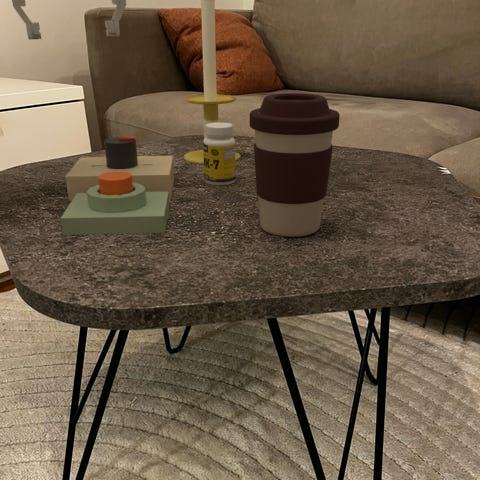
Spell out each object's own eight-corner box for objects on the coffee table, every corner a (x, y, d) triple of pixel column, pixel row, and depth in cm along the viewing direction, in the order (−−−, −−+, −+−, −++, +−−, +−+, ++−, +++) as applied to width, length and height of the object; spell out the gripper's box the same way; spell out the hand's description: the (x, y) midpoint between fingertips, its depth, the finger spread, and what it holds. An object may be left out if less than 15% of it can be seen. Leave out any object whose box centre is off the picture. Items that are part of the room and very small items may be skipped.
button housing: (63, 235, 69) (57, 202, 68) (78, 209, 78) (74, 179, 76) (165, 233, 70) (163, 200, 68) (169, 207, 79) (167, 177, 77)
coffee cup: (333, 216, 75) (342, 91, 68) (328, 245, 66) (339, 105, 59) (256, 212, 77) (257, 89, 69) (242, 239, 68) (242, 102, 61)
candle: (239, 164, 99) (238, -21, 86) (180, 164, 99) (170, -21, 87) (241, 150, 108) (240, -20, 95) (187, 150, 108) (179, -19, 95)
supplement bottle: (197, 182, 90) (195, 124, 86) (220, 176, 93) (219, 120, 89) (219, 188, 87) (218, 129, 83) (242, 182, 90) (241, 124, 86)
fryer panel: (68, 201, 81) (65, 175, 79) (83, 180, 91) (80, 156, 89) (170, 199, 82) (169, 173, 80) (174, 178, 92) (173, 154, 90)
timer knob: (104, 169, 83) (101, 141, 81) (109, 161, 87) (106, 135, 85) (136, 168, 83) (133, 141, 81) (139, 161, 87) (137, 134, 85)
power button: (97, 197, 71) (95, 180, 70) (102, 187, 74) (100, 171, 73) (131, 196, 71) (129, 179, 70) (134, 187, 74) (133, 171, 73)
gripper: (142, -93, 72) (152, 33, 78) (-40, -99, 65) (-13, 39, 72) (154, -101, 66) (163, 36, 73) (-43, -108, 60) (-13, 42, 67)
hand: (74, 37), depth 72 cm, fingers open, 8 cm apart
